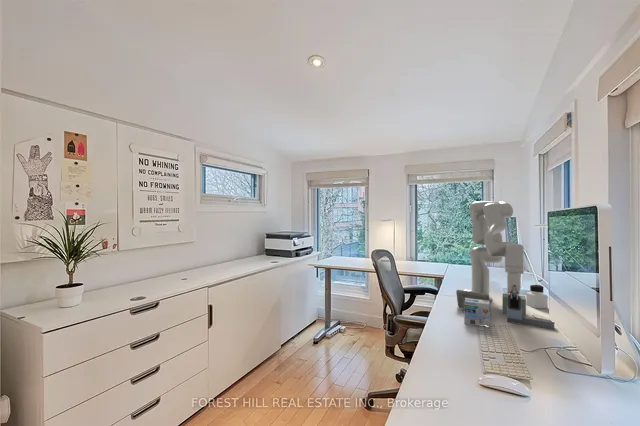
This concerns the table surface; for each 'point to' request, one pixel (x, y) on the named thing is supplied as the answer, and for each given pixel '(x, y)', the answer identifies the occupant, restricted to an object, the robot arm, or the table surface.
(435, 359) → the table surface
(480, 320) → the light bulb box
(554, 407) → the table surface
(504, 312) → the cabinet
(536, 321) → the rail
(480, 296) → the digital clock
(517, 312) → the carriage
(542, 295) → the medicine bottle
